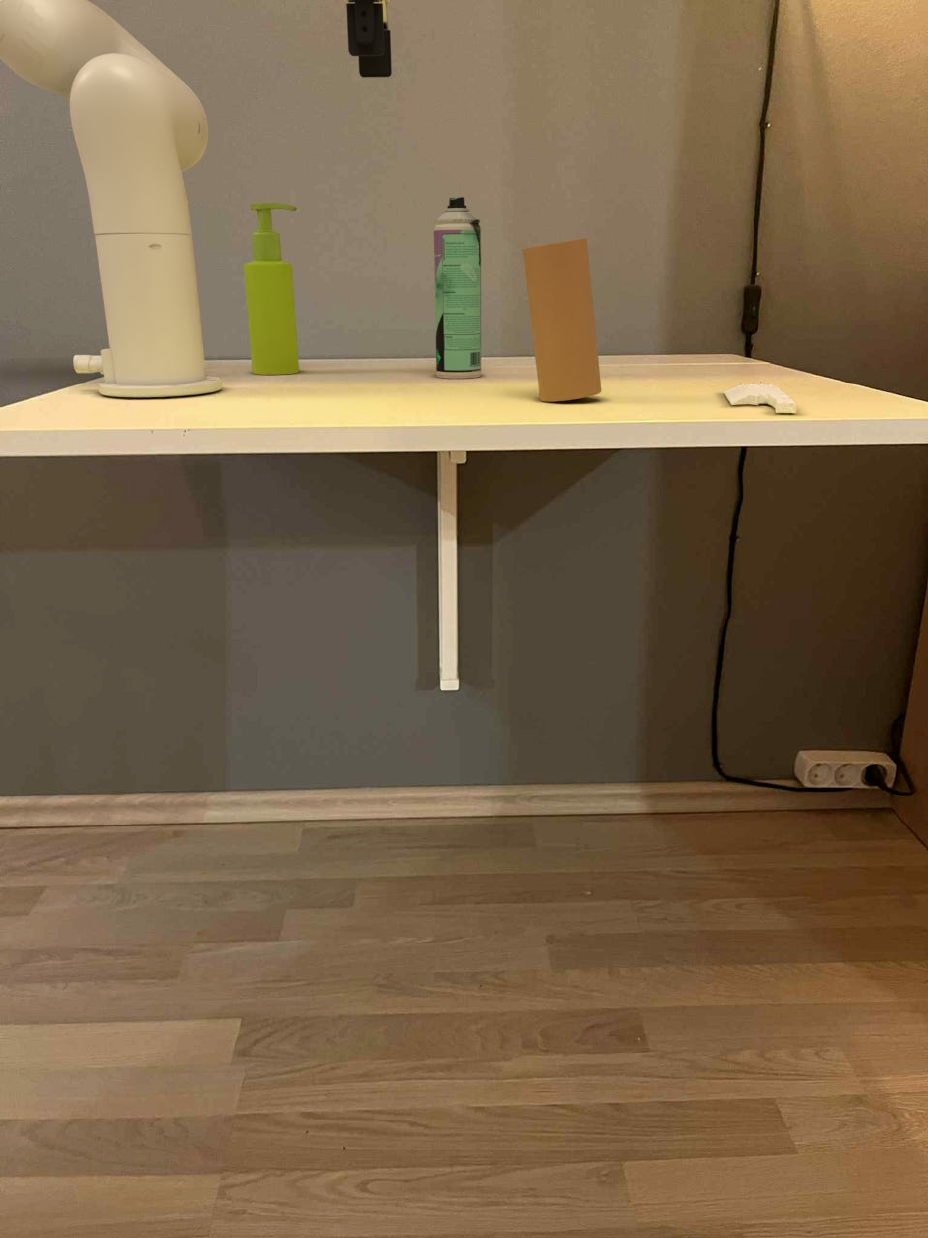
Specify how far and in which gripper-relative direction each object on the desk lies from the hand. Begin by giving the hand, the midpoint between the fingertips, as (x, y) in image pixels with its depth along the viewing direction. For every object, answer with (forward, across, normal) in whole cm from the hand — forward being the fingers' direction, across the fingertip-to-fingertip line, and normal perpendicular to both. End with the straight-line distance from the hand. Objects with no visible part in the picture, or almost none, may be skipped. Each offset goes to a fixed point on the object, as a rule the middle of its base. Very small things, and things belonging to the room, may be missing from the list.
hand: (371, 66), depth 90 cm
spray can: (+31, -16, +8) cm, 35 cm away
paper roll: (+23, +8, +15) cm, 29 cm away
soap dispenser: (+31, -23, -15) cm, 41 cm away
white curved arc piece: (+30, +12, +36) cm, 49 cm away
